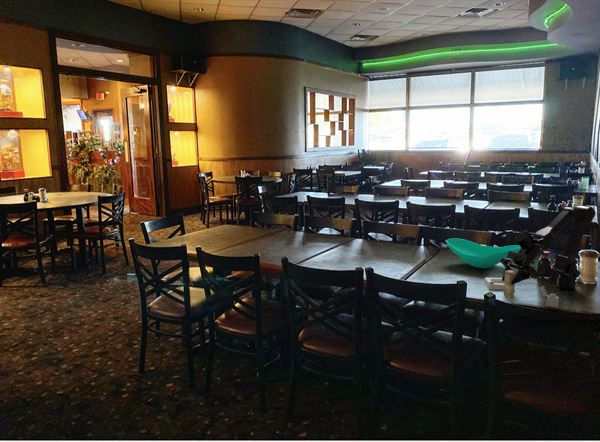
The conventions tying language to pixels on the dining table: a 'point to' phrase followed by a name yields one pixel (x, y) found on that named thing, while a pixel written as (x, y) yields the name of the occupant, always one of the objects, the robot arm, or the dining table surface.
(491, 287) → the housing
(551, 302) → the grey notched flat piece
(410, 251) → the dining table surface
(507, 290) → the wooden cylinder
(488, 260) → the table top decor
